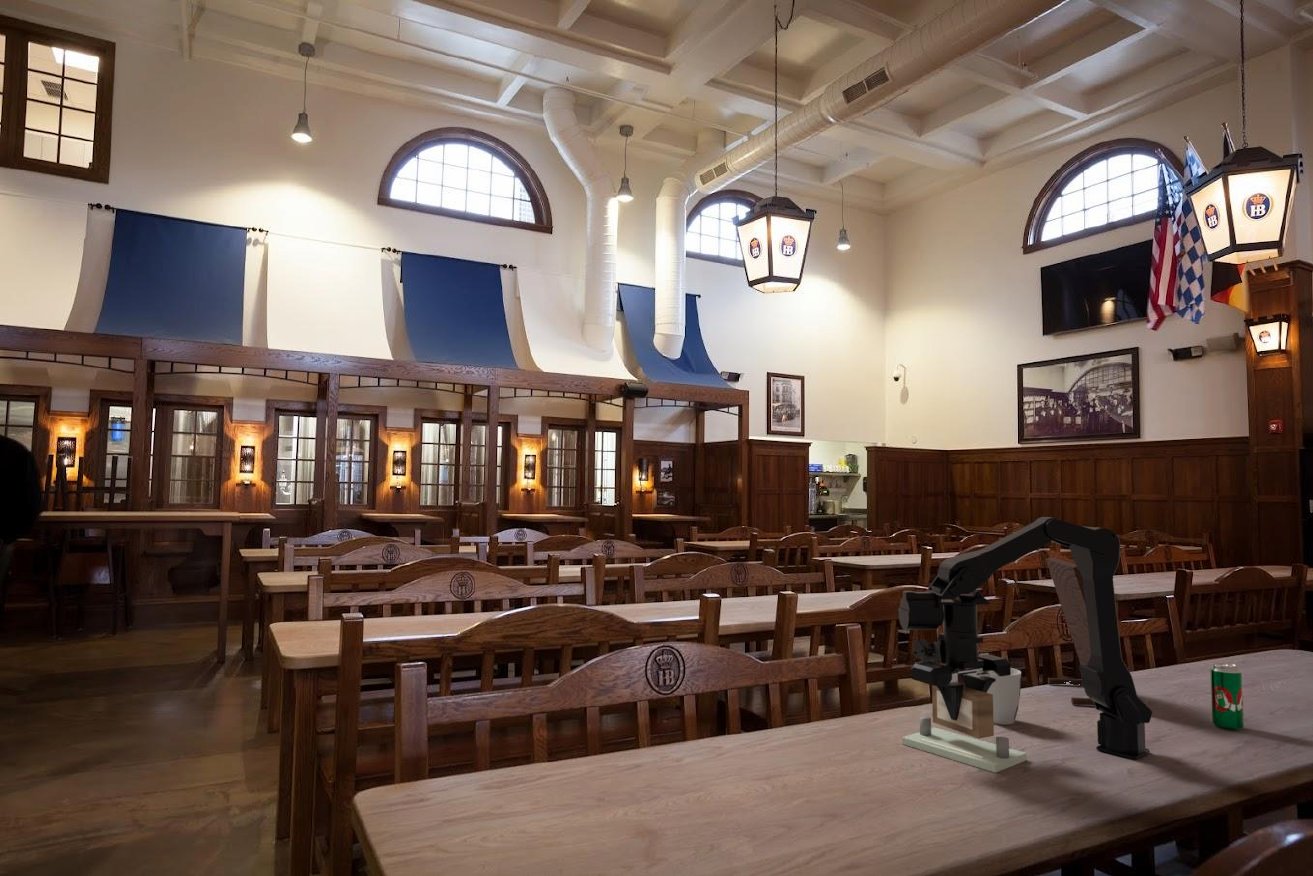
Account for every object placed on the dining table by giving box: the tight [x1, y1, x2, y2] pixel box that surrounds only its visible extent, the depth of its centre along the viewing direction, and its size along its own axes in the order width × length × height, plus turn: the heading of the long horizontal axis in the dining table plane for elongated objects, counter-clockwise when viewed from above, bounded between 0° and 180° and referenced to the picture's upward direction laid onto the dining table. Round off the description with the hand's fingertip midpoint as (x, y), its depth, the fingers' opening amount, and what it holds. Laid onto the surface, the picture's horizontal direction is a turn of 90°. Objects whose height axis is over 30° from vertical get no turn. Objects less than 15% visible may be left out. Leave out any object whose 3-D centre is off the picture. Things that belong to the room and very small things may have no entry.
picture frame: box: [1045, 556, 1095, 706], centre depth 179 cm, size 21×11×30 cm, turn 168°
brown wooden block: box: [931, 685, 995, 740], centre depth 140 cm, size 10×4×7 cm, turn 26°
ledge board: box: [901, 715, 1028, 773], centre depth 140 cm, size 18×10×4 cm, turn 37°
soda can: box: [1209, 662, 1245, 732], centre depth 155 cm, size 5×5×12 cm
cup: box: [987, 667, 1022, 726], centre depth 159 cm, size 8×8×10 cm
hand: (962, 718), depth 140 cm, fingers closed on brown wooden block, 4 cm apart
